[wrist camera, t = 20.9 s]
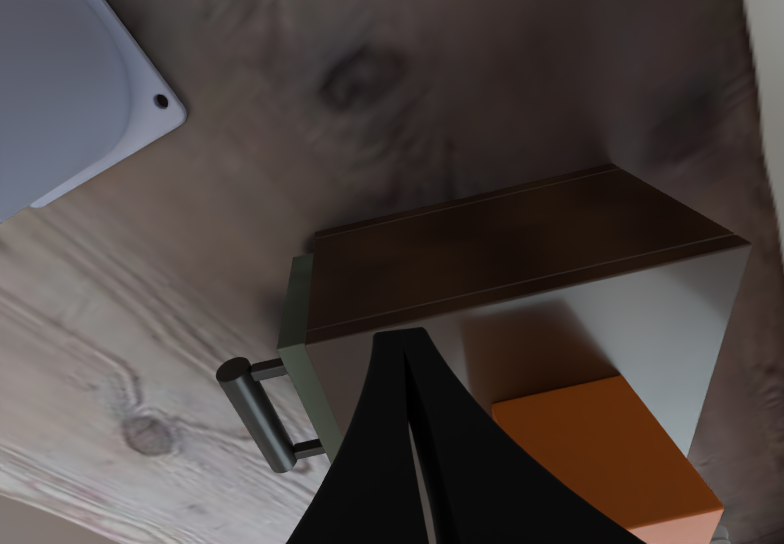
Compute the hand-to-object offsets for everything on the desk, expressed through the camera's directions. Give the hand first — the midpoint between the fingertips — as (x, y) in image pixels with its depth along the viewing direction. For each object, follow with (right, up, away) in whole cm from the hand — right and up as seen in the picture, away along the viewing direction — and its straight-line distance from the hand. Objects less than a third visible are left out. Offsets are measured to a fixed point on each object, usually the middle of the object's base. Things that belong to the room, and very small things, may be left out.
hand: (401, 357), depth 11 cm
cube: (+6, -4, +6) cm, 9 cm away
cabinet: (+5, 0, +12) cm, 13 cm away
